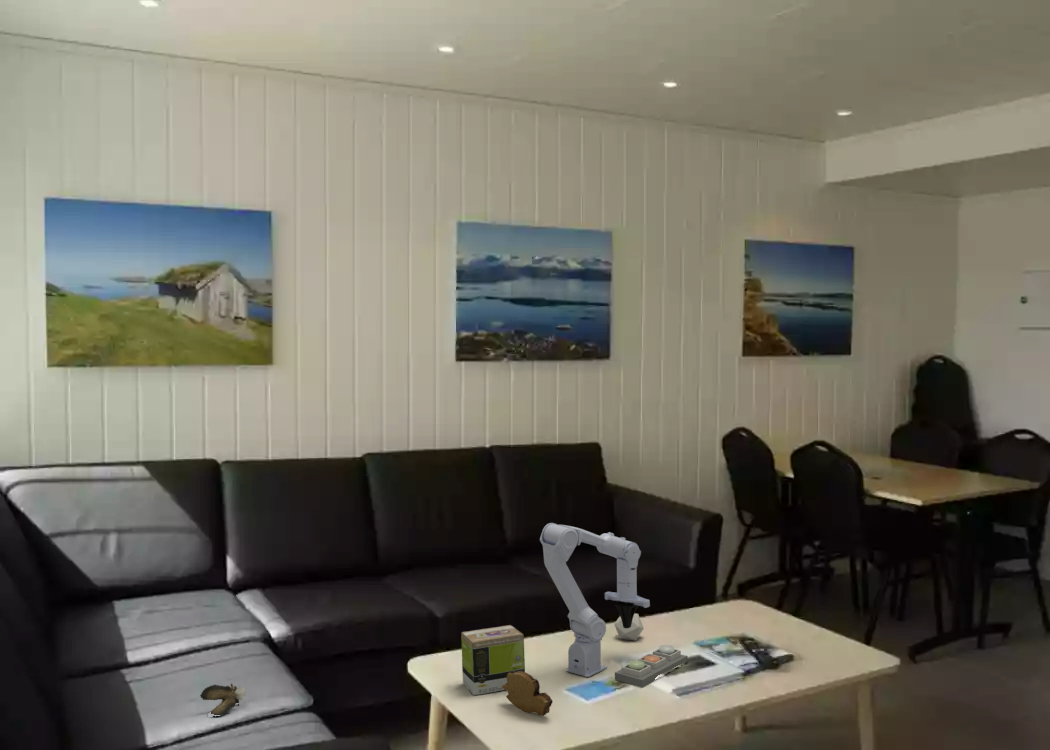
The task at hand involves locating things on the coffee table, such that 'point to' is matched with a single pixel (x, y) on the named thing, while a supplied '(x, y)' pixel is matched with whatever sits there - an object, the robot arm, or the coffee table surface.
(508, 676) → the wooden carving
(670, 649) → the blue-grey button
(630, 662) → the sage button
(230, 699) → the eagle figurine
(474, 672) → the tea box
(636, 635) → the die
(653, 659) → the terracotta button
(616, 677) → the button panel
